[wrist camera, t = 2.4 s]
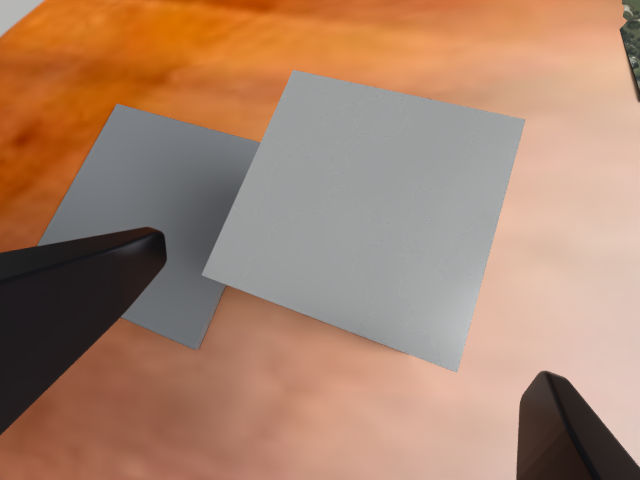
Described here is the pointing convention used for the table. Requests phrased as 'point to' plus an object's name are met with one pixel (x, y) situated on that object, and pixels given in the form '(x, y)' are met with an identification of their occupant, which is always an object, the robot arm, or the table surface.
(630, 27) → the eiffel tower figurine
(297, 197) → the silver grey block
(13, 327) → the robot arm
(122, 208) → the rubber mat
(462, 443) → the table surface
